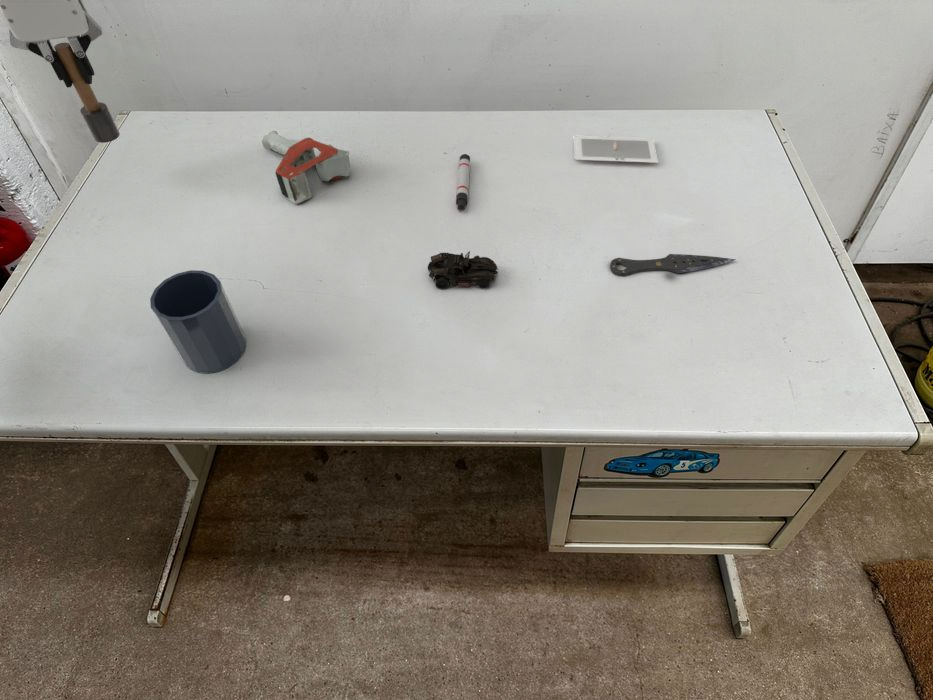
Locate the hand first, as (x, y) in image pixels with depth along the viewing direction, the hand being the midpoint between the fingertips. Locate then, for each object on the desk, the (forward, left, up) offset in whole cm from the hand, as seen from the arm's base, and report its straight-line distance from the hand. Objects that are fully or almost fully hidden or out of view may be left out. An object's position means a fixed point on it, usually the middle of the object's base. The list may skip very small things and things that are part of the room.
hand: (79, 80), depth 95 cm
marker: (+55, -24, -19) cm, 63 cm away
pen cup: (+10, -46, -18) cm, 50 cm away
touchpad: (+85, -24, -19) cm, 90 cm away
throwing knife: (+79, -54, -18) cm, 98 cm away
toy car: (+48, -45, -19) cm, 68 cm away
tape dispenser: (+30, -9, -19) cm, 37 cm away
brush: (0, 0, -10) cm, 10 cm away
